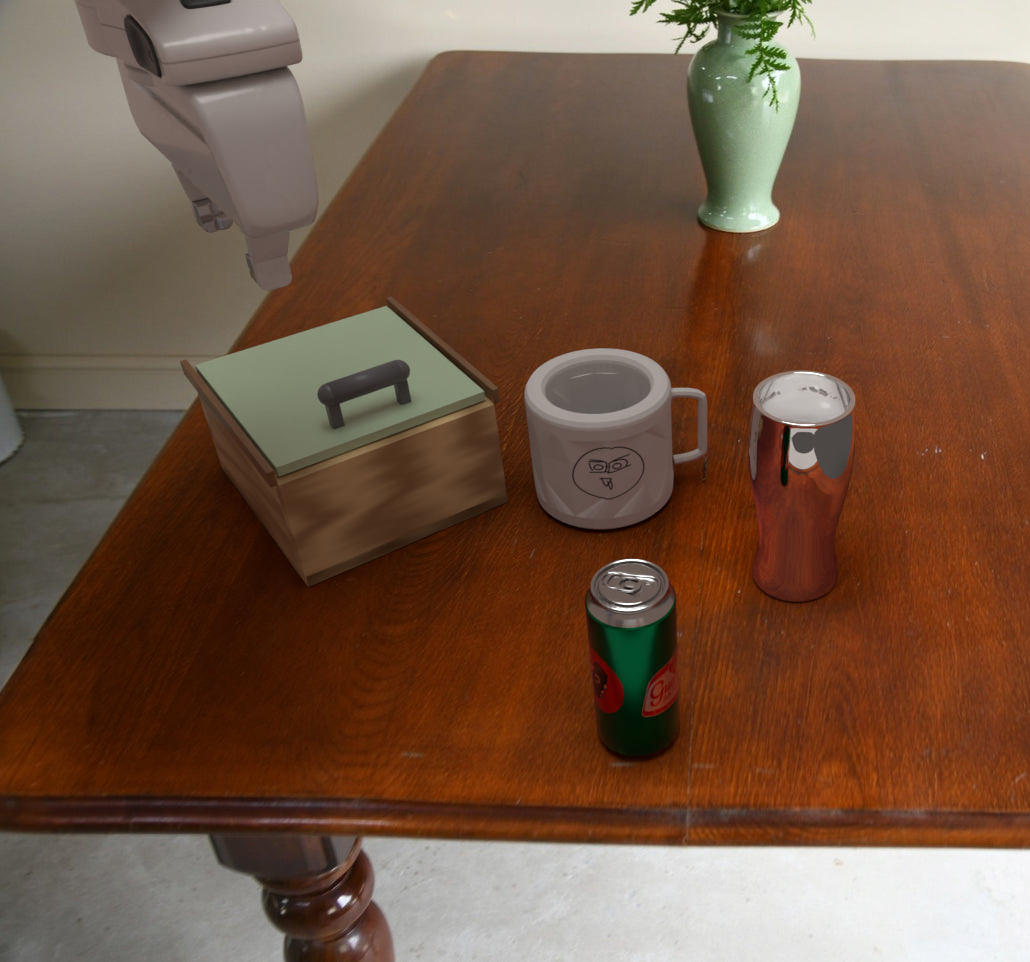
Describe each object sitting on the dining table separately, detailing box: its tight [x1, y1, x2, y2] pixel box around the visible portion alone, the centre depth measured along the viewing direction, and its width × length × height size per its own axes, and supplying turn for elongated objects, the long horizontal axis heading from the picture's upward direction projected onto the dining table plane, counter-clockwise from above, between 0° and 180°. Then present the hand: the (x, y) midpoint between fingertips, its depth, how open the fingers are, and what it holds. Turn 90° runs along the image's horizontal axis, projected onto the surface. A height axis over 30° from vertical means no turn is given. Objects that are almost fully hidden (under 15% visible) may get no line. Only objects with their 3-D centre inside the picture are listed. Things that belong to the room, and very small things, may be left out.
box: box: [179, 296, 509, 588], centre depth 86 cm, size 17×18×10 cm
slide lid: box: [194, 305, 486, 477], centre depth 82 cm, size 15×17×4 cm
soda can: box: [584, 558, 681, 757], centre depth 65 cm, size 5×5×12 cm
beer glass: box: [748, 370, 857, 603], centre depth 76 cm, size 7×7×15 cm
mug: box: [523, 347, 708, 531], centre depth 86 cm, size 14×11×10 cm
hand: (243, 254), depth 65 cm, fingers open, 8 cm apart
